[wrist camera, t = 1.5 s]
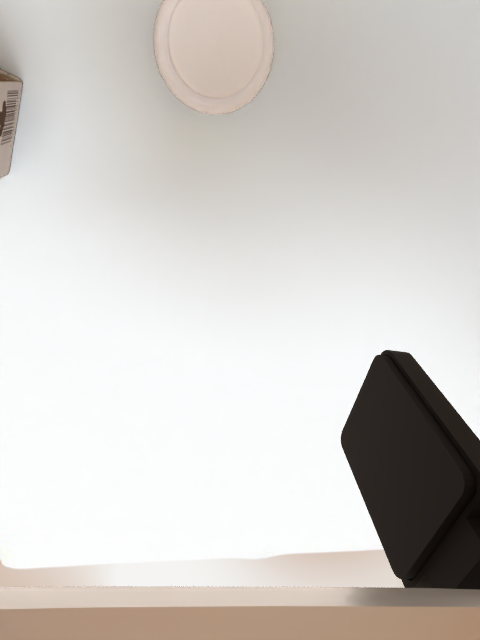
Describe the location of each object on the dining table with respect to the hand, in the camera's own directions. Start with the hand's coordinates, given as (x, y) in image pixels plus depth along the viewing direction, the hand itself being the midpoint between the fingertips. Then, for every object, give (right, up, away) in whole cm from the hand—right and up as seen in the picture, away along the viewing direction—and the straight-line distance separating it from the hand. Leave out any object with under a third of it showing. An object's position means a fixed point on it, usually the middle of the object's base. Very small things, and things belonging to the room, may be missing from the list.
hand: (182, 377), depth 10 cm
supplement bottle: (-1, +18, +16) cm, 24 cm away
